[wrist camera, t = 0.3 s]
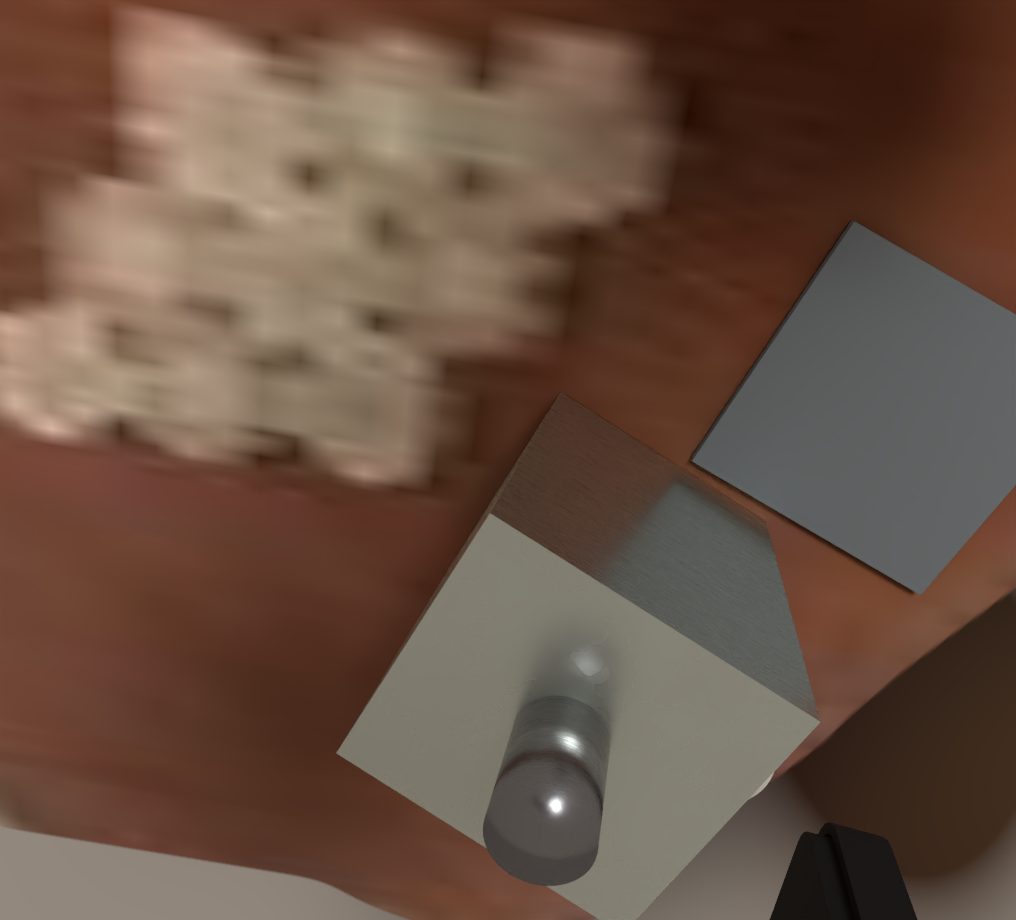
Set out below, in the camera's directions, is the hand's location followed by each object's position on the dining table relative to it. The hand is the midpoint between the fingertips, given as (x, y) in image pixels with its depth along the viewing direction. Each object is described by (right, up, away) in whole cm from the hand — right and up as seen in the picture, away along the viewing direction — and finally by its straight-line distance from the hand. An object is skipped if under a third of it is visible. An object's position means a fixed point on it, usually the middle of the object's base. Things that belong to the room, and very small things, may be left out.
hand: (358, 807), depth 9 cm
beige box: (+7, -1, +38) cm, 39 cm away
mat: (+21, +6, +33) cm, 40 cm away
